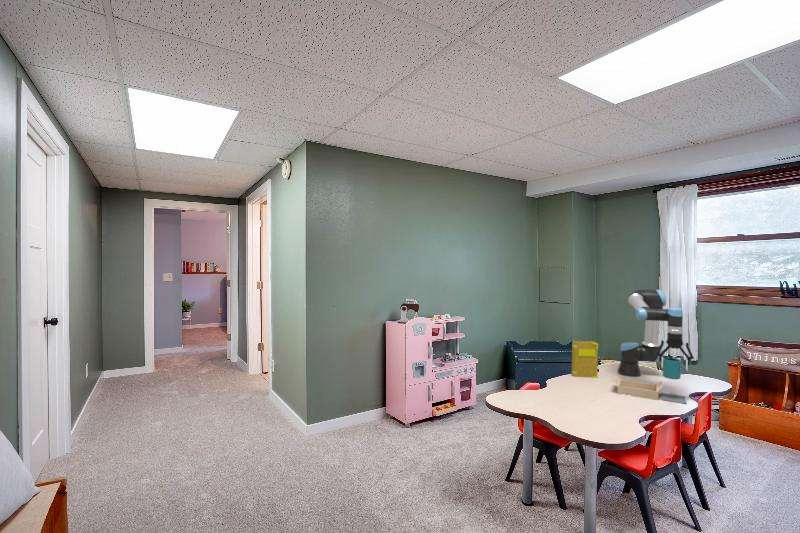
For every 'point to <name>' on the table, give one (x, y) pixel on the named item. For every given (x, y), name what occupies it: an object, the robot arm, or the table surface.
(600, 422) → the table surface
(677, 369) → the cup
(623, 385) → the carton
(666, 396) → the mat
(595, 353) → the book
